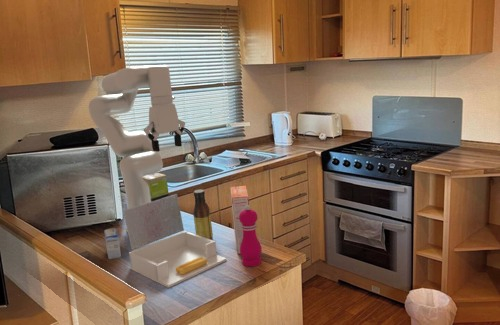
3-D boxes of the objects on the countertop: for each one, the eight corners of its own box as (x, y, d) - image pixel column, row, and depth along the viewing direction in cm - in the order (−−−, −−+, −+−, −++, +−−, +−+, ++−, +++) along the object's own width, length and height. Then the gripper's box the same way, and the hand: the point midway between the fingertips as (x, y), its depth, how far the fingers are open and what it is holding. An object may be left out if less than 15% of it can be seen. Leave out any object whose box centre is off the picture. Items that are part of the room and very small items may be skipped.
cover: (132, 249, 158) (131, 249, 159) (183, 230, 173) (182, 230, 174) (124, 210, 157) (123, 210, 157) (176, 194, 172) (175, 194, 172)
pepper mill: (236, 263, 158) (231, 206, 154) (251, 256, 163) (247, 200, 158) (251, 269, 153) (247, 210, 148) (267, 261, 158) (263, 204, 153)
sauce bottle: (204, 236, 184) (200, 187, 179) (216, 239, 180) (212, 189, 176) (192, 242, 179) (187, 191, 175) (204, 245, 175) (199, 193, 171)
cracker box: (234, 239, 178) (230, 186, 174) (250, 238, 179) (246, 184, 174) (236, 255, 165) (231, 197, 160) (253, 253, 165) (249, 195, 160)
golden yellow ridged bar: (174, 272, 152) (174, 266, 152) (201, 260, 160) (200, 255, 160) (182, 276, 150) (181, 270, 149) (208, 263, 157) (208, 258, 157)
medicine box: (106, 251, 176) (103, 229, 174) (119, 249, 177) (116, 227, 175) (108, 259, 169) (105, 236, 167) (121, 257, 170) (118, 234, 168)
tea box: (136, 203, 234) (132, 174, 231) (154, 198, 241) (150, 170, 237) (152, 209, 223) (148, 178, 220) (170, 203, 230) (167, 174, 226)
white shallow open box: (130, 268, 160) (127, 252, 158) (186, 245, 176) (185, 230, 175) (168, 287, 144) (166, 269, 143) (226, 260, 161) (225, 243, 159)
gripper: (175, 98, 176) (180, 143, 180) (135, 104, 164) (141, 152, 168) (187, 98, 171) (192, 145, 174) (147, 104, 159) (153, 154, 163)
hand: (167, 148), depth 171 cm, fingers open, 9 cm apart
